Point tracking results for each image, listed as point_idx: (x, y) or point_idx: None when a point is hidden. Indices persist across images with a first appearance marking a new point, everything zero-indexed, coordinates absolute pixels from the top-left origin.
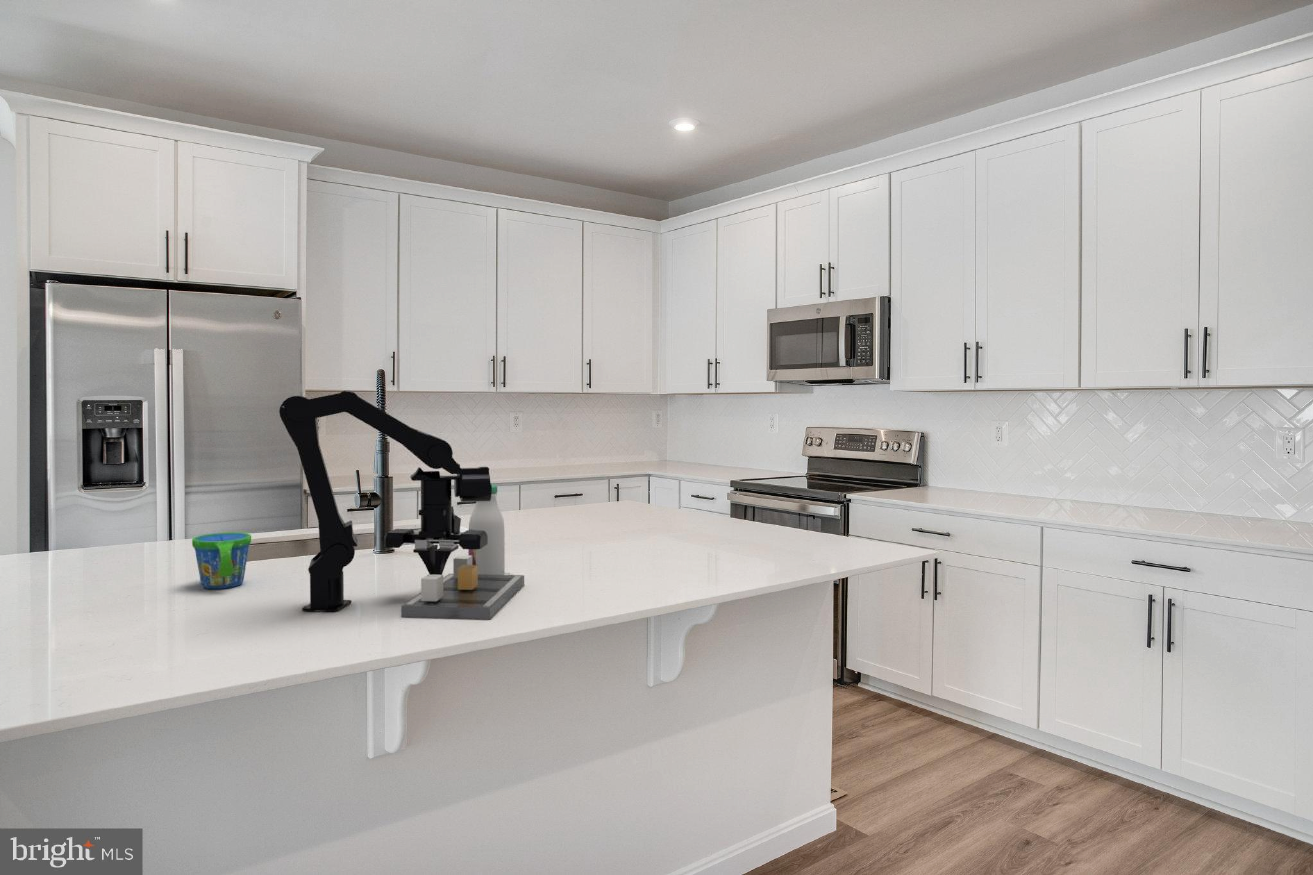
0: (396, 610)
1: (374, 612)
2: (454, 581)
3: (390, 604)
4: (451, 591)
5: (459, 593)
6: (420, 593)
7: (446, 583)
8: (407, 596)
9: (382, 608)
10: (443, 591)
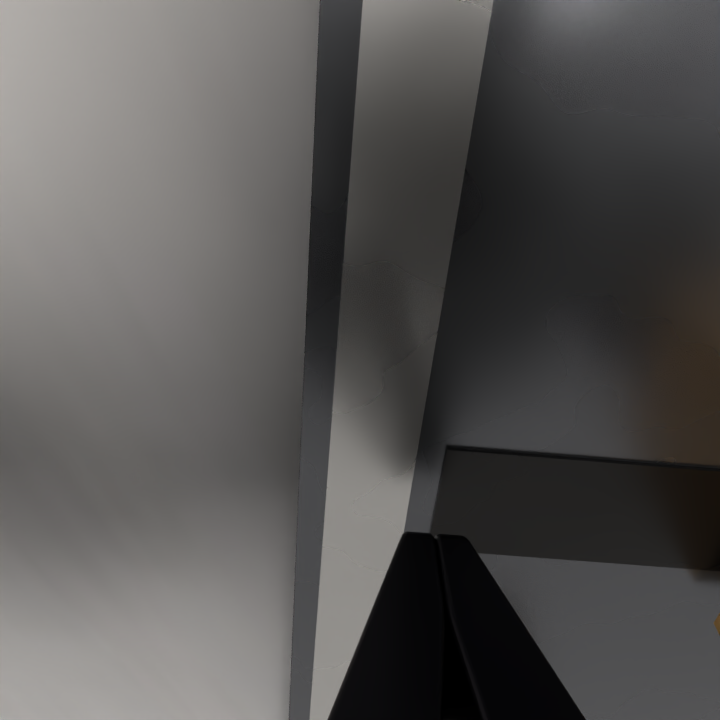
0: (188, 684)
1: (57, 713)
2: (669, 53)
3: (44, 567)
4: (627, 598)
5: (717, 658)
6: (299, 653)
7: (522, 218)
8: (32, 313)
9: (51, 649)
10: (534, 599)
